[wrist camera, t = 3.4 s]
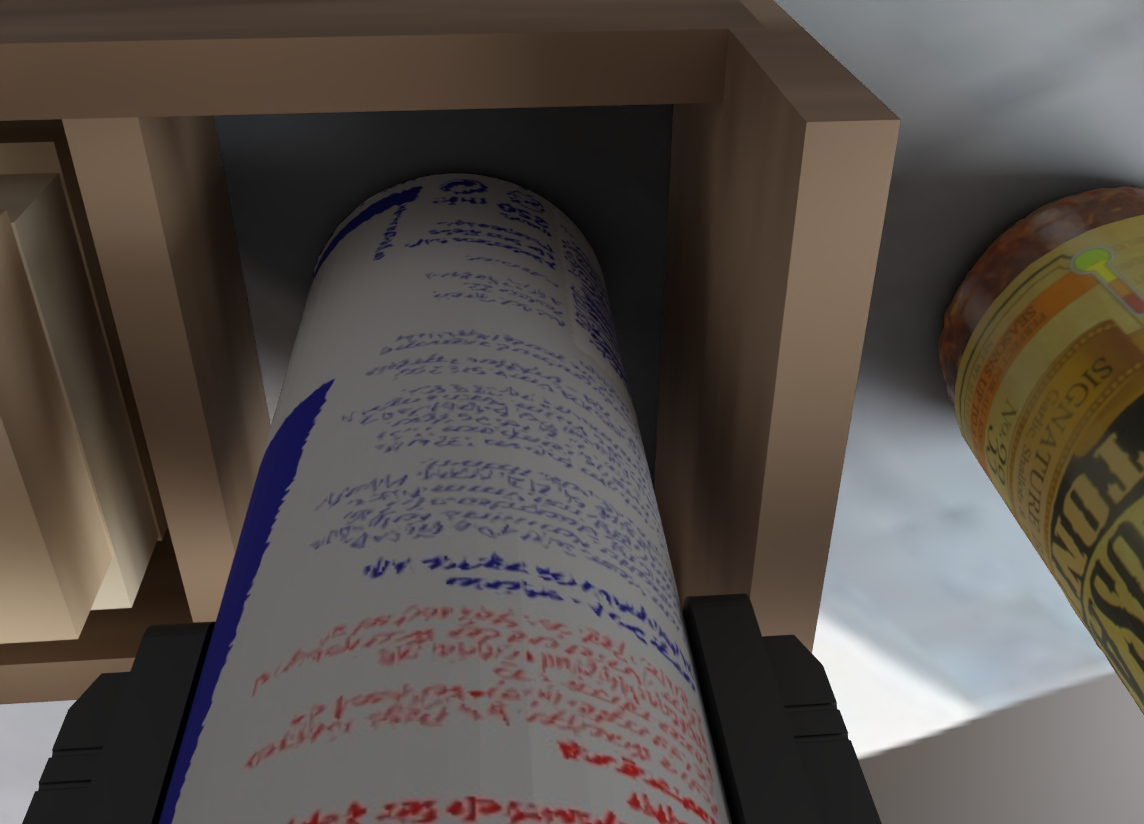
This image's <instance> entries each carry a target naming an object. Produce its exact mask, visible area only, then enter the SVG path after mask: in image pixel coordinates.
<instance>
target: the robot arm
mask: <svg viewBox="0 0 1144 824" xmlns="http://www.w3.org/2000/svg"><path fill="white" fill-rule="evenodd" d="M683 617H684V621H685V625H686V629H687V633H688V638H689V642H690V646H691V650H692V655H693V659H694V663H695V667H696V672H697V676H698V680H699V684H700V689H701V693H702V697H703V701H704V706H705V710H706V714H707V718H708V723H709V727H710V731H711V735H712V739H713V744H714V748H715V752H716V756H717V761H718V765H719V769H720V773H721V778H722V782H723V786H724V790H725V795H726V799H727V803H728V807H729V812H730V816H731V820H732V824H882V823H881V821H880V818H879V815H878V813H877V810H876V808H875V805H874V802H873V799H872V796H871V794H870V791H869V788H868V786H867V783H866V780H865V778H864V775H863V772H862V769H861V767H860V764H859V761H858V759H857V756H856V753H855V751H854V748H853V745H852V742H851V740H849V739H848V732H847V729H846V726H845V724H844V721H843V718H842V716H841V713H840V710H837V702H836V699H835V697H834V694H833V691H832V689H831V686H830V683H829V680H828V678H827V675H826V672H825V670H824V667H823V665H822V664H821V663H820V662H819V661H818V660H817V659H816V658H815V657H814V655H813V654H812V653H811V652H810V651H809V650H808V649H807V648H806V647H805V646H804V645H803V644H802V643H801V642H800V640H799V639H798V638H797V637H796V636H795V635H777V636H762V635H761V631H760V628H759V625H758V622H757V619H756V616H755V612H754V609H753V606H752V603H751V600H750V598H749V596H748V595H747V594H745V593H742V594H724V595H706V596H688V597H686V598H685V600H684V605H683ZM215 623H216V622H215V621H212V622H194V623H176V624H158V625H151V626H149V627H148V628H147V629H146V631H145V633H144V635H143V637H142V640H141V643H140V646H139V648H138V651H137V654H136V657H135V660H134V662H133V665H132V668H131V671H130V672H116V673H101V674H100V675H99V677H98V678H97V679H96V680H95V681H94V682H93V683H92V684H91V685H90V686H89V688H88V689H87V690H86V691H85V692H84V693H83V694H82V695H81V696H80V697H79V699H78V700H77V701H76V702H75V703H74V704H73V705H72V706H71V707H70V708H69V710H68V712H67V714H66V717H65V719H64V722H63V724H62V727H61V729H60V732H59V734H58V737H57V739H56V742H55V744H54V747H53V749H52V751H53V755H52V758H49V759H48V761H47V764H46V766H45V769H44V771H43V774H42V776H41V779H40V781H39V790H38V791H35V793H34V796H33V798H32V801H31V803H30V806H29V808H28V811H27V813H26V816H25V818H24V821H23V823H22V824H159V821H160V817H161V814H162V810H163V807H164V803H165V800H166V796H167V792H168V789H169V785H170V782H171V778H172V775H173V771H174V768H175V764H176V761H177V757H178V754H179V750H180V747H181V743H182V739H183V736H184V732H185V729H186V725H187V722H188V718H189V715H190V711H191V708H192V704H193V701H194V697H195V693H196V690H197V686H198V683H199V679H200V676H201V672H202V669H203V665H204V662H205V658H206V655H207V651H208V647H209V644H210V640H211V637H212V633H213V630H214V626H215Z"/></svg>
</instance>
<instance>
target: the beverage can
mask: <svg viewBox="0 0 1144 824" xmlns="http://www.w3.org/2000/svg"><path fill="white" fill-rule="evenodd" d="M159 824H732V820H731V816H730V812H729V807H728V803H727V799H726V795H725V790H724V786H723V782H722V778H721V773H720V769H719V765H718V761H717V756H716V752H715V748H714V744H713V739H712V735H711V731H710V727H709V723H708V718H707V714H706V710H705V706H704V701H703V697H702V693H701V689H700V684H699V680H698V676H697V672H696V667H695V663H694V659H693V655H692V650H691V646H690V642H689V638H688V633H687V629H686V625H685V621H684V617H683V612H682V608H681V604H680V600H679V595H678V591H677V587H676V583H675V578H674V574H673V570H672V566H671V561H670V557H669V553H668V549H667V544H666V540H665V536H664V532H663V527H662V523H661V519H660V515H659V511H658V506H657V502H656V498H655V494H654V489H653V485H652V481H651V477H650V472H649V468H648V464H647V460H646V455H645V451H644V447H643V443H642V438H641V434H640V430H639V426H638V421H637V417H636V413H635V409H634V405H633V400H632V396H631V392H630V388H629V383H628V379H627V375H626V371H625V366H624V362H623V358H622V354H621V349H620V345H619V341H618V337H617V332H616V328H615V324H614V320H613V315H612V311H611V307H610V303H609V298H608V294H607V290H606V286H605V282H604V277H603V273H602V270H601V267H600V265H599V262H598V260H597V258H596V256H595V253H594V251H593V249H592V247H591V246H590V244H589V243H588V241H587V240H586V238H585V237H584V235H583V234H582V233H581V231H580V230H579V229H578V228H577V226H576V225H575V224H574V223H573V222H572V221H571V220H570V219H569V218H568V217H567V216H566V215H565V214H564V213H563V212H561V211H560V210H559V209H558V208H557V207H555V206H554V205H553V204H551V203H550V202H548V201H547V200H546V199H544V198H543V197H541V196H539V195H537V194H535V193H534V192H532V191H530V190H528V189H525V188H523V187H521V186H518V185H516V184H514V183H510V182H507V181H504V180H500V179H497V178H493V177H487V176H482V175H475V174H460V173H456V174H455V173H453V174H437V175H431V176H426V177H421V178H415V179H411V180H408V181H405V182H403V183H400V184H397V185H395V186H392V187H389V188H387V189H385V190H383V191H381V192H379V193H377V194H376V195H374V196H372V197H371V198H369V199H368V200H366V201H365V202H363V203H362V204H360V205H359V206H358V207H357V208H356V209H355V210H353V211H352V212H351V213H350V214H349V215H348V216H347V217H346V218H344V220H343V221H342V222H341V223H340V224H339V226H338V227H337V228H336V229H335V230H334V232H333V233H332V234H331V236H330V238H329V239H328V241H327V243H326V244H325V246H324V248H323V249H322V251H321V253H320V255H319V258H318V261H317V264H316V267H315V269H314V272H313V276H312V282H311V287H310V290H309V294H308V297H307V301H306V304H305V308H304V311H303V315H302V319H301V322H300V326H299V329H298V333H297V336H296V340H295V343H294V347H293V350H292V354H291V357H290V361H289V365H288V368H287V372H286V375H285V379H284V382H283V386H282V389H281V393H280V396H279V400H278V403H277V407H276V411H275V414H274V418H273V421H272V425H271V428H270V432H269V435H268V439H267V442H266V446H265V449H264V453H263V456H262V460H261V464H260V467H259V471H258V474H257V478H256V481H255V485H254V488H253V492H252V495H251V499H250V502H249V506H248V510H247V513H246V517H245V520H244V524H243V527H242V531H241V534H240V538H239V541H238V545H237V548H236V552H235V556H234V559H233V563H232V566H231V570H230V573H229V577H228V580H227V584H226V587H225V591H224V594H223V598H222V601H221V605H220V609H219V612H218V616H217V619H216V623H215V626H214V630H213V633H212V637H211V640H210V644H209V647H208V651H207V655H206V658H205V662H204V665H203V669H202V672H201V676H200V679H199V683H198V686H197V690H196V693H195V697H194V701H193V704H192V708H191V711H190V715H189V718H188V722H187V725H186V729H185V732H184V736H183V739H182V743H181V747H180V750H179V754H178V757H177V761H176V764H175V768H174V771H173V775H172V778H171V782H170V785H169V789H168V792H167V796H166V800H165V803H164V807H163V810H162V814H161V817H160V821H159Z"/></svg>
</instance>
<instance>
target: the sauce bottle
mask: <svg viewBox="0 0 1144 824" xmlns="http://www.w3.org/2000/svg"><path fill="white" fill-rule="evenodd" d="M937 345H938V350H939V353H940V366H941V368H942V372H943V375H944V379H945V382H946V385H947V394H948V395H949V397H950V399H951V400H952V402H953V404H954V406H955V412H956V417H957V421H958V424H959V428H960V431H961V434H962V436H963V438H964V439H965V441H966V443H967V444H968V446H969V447H970V449H971V451H972V452H973V454H974V456H975V457H976V459H977V460H978V462H979V463H980V465H981V466H982V468H983V470H984V471H985V473H986V474H987V476H988V477H989V479H990V480H991V482H992V483H993V485H994V487H995V488H996V490H997V491H998V493H999V494H1000V496H1001V497H1002V499H1003V500H1004V502H1005V504H1006V505H1007V507H1008V508H1009V510H1010V511H1011V513H1012V514H1013V516H1014V517H1015V519H1016V520H1017V522H1018V524H1019V525H1020V527H1021V528H1022V530H1023V531H1024V533H1025V534H1026V536H1027V537H1028V539H1029V540H1030V542H1031V543H1032V545H1033V546H1034V548H1035V549H1036V551H1037V552H1038V554H1039V555H1040V557H1041V558H1042V560H1043V561H1044V563H1045V565H1046V566H1047V568H1048V569H1049V571H1050V572H1051V574H1052V575H1053V577H1054V578H1055V580H1056V581H1057V583H1058V584H1059V586H1060V587H1061V589H1062V590H1063V592H1064V594H1065V596H1066V598H1067V599H1068V601H1069V603H1070V605H1071V607H1072V608H1073V610H1074V611H1075V613H1076V614H1077V615H1078V617H1079V618H1080V620H1081V621H1082V623H1083V624H1084V625H1085V627H1086V628H1087V630H1088V631H1089V632H1090V634H1091V636H1092V637H1093V639H1094V641H1095V642H1096V644H1097V646H1098V647H1099V648H1100V649H1101V650H1102V651H1103V653H1104V654H1105V656H1106V657H1107V659H1108V661H1109V662H1110V664H1111V666H1112V667H1113V669H1114V670H1115V672H1116V673H1117V675H1118V676H1119V678H1120V679H1121V681H1122V682H1123V684H1124V685H1125V687H1126V688H1127V690H1128V691H1129V692H1130V694H1131V696H1132V697H1133V699H1134V700H1135V702H1136V704H1137V705H1138V707H1139V708H1140V710H1141V711H1142V713H1143V714H1144V188H1140V187H1129V186H1121V187H1118V188H1098V189H1094V190H1090V191H1086V192H1082V193H1078V194H1074V195H1071V196H1067V197H1065V198H1062V199H1060V200H1057V201H1054V202H1051V203H1048V204H1046V205H1043V206H1042V207H1040V208H1038V209H1037V210H1035V211H1033V212H1032V213H1030V214H1029V215H1028V216H1027V217H1026V218H1024V219H1021V220H1018V221H1017V222H1016V223H1015V224H1014V226H1012V227H1011V228H1009V229H1008V230H1007V231H1005V232H1004V233H1003V234H1002V235H1001V236H1000V237H998V238H997V239H995V241H994V242H993V243H992V244H991V245H990V246H989V247H988V248H987V250H986V251H985V252H984V253H983V254H982V256H981V257H980V258H979V260H978V261H977V262H976V264H975V265H974V266H973V268H972V269H971V270H970V271H969V272H968V273H967V274H966V276H965V279H964V281H963V282H962V283H961V284H960V286H959V288H958V289H957V291H956V293H955V295H954V298H953V300H952V303H951V304H950V305H949V307H948V308H947V309H946V311H945V314H944V328H943V330H942V331H941V334H940V337H939V341H938V344H937Z"/></svg>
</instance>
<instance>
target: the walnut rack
mask: <svg viewBox="0 0 1144 824" xmlns="http://www.w3.org/2000/svg"><path fill="white" fill-rule="evenodd" d="M648 104H674V107H673V127H672V146H671V166H670V186H669V206H668V226H667V245H666V265H665V285H664V305H663V324H662V344H661V364H660V384H659V404H658V423H657V443H656V463H655V483H654V494H655V498H656V502H657V506H658V511H659V515H660V519H661V523H662V527H663V532H664V536H665V540H666V544H667V549H668V553H669V557H670V561H671V566H672V570H673V574H674V578H675V583H676V587H677V591H678V595H679V600H680V604H681V608H682V612H683V605H684V600H685V598H686V597H688V596H706V595H724V594H742V593H745V594H747V595H748V596H749V598H750V600H751V603H752V606H753V609H754V612H755V616H756V619H757V622H758V625H759V628H760V631H761V635H762V636H777V635H795V636H796V637H797V638H798V639H799V640H800V642H801V643H802V644H803V645H804V646H805V647H806V648H807V649H808V650H809V651H810V652H811V653H812V649H813V643H814V637H815V631H816V625H817V619H818V613H819V607H820V601H821V595H822V589H823V583H824V577H825V571H826V565H827V559H828V553H829V547H830V541H831V535H832V529H833V523H834V517H835V511H836V505H837V499H838V493H839V487H840V481H841V475H842V469H843V463H844V457H845V451H846V445H847V439H848V433H849V427H850V421H851V415H852V409H853V403H854V397H855V391H856V385H857V379H858V373H859V367H860V361H861V355H862V349H863V343H864V337H865V331H866V325H867V319H868V313H869V307H870V301H871V295H872V289H873V283H874V277H875V271H876V265H877V259H878V253H879V247H880V241H881V235H882V229H883V224H884V218H885V212H886V206H887V200H888V194H889V188H890V182H891V176H892V170H893V164H894V158H895V152H896V146H897V140H898V134H899V128H900V122H901V119H900V118H898V117H897V116H896V115H895V114H894V113H893V112H892V111H891V110H890V109H889V108H888V107H887V106H886V105H885V104H883V103H882V102H881V101H880V100H879V99H878V98H877V97H876V96H875V95H874V94H873V93H872V92H871V91H870V90H869V89H867V88H866V87H865V86H864V85H863V84H862V83H861V82H860V81H859V80H858V79H857V78H856V77H855V76H854V75H852V74H851V73H850V72H849V71H848V70H847V69H846V68H845V67H844V66H843V65H842V64H841V63H840V62H839V61H837V60H836V59H835V58H834V57H833V56H832V55H831V54H830V53H829V52H828V51H827V50H826V49H825V48H824V47H822V46H821V45H820V44H819V43H818V42H817V41H816V40H815V39H814V38H813V37H812V36H811V35H810V34H809V33H807V32H806V31H805V30H804V29H803V28H802V27H801V26H800V25H799V24H798V23H797V22H796V21H795V20H794V19H792V18H791V17H790V16H789V15H788V14H787V13H786V12H785V11H784V10H783V9H782V8H781V7H780V6H779V5H777V4H776V3H775V2H774V1H773V0H0V121H10V120H50V119H62V122H63V126H64V129H65V133H66V137H67V141H68V145H69V149H70V152H71V156H72V160H73V164H74V168H75V172H76V175H77V179H78V183H79V187H80V191H81V195H82V198H83V202H84V206H85V210H86V214H87V218H88V221H89V225H90V229H91V233H92V237H93V240H94V244H95V248H96V252H97V256H98V260H99V263H100V267H101V271H102V275H103V279H104V283H105V286H106V290H107V294H108V298H109V302H110V306H111V309H112V313H113V317H114V321H115V325H116V329H117V332H118V336H119V340H120V344H121V348H122V352H123V355H124V359H125V363H126V367H127V371H128V374H129V378H130V382H131V386H132V390H133V394H134V397H135V401H136V405H137V409H138V413H139V417H140V420H141V424H142V428H143V432H144V436H145V440H146V443H147V447H148V451H149V455H150V459H151V463H152V466H153V470H154V474H155V478H156V482H157V486H158V489H159V493H160V497H161V501H162V505H163V508H164V512H165V516H166V520H167V524H168V526H167V529H166V532H165V534H164V537H163V540H162V541H157V542H156V545H155V547H154V550H153V553H152V555H151V558H150V561H149V563H148V566H147V568H146V571H145V574H144V576H143V579H142V582H141V584H140V587H139V590H138V592H137V595H136V598H135V600H134V603H133V605H132V608H118V609H101V610H90V612H89V615H88V617H87V619H86V622H85V624H84V626H83V629H82V631H81V633H80V636H79V638H78V639H71V640H54V641H37V642H21V643H4V644H0V704H14V703H31V702H48V701H65V700H78V699H79V697H80V696H81V695H82V694H83V693H84V692H85V691H86V690H87V689H88V688H89V686H90V685H91V684H92V683H93V682H94V681H95V680H96V679H97V678H98V677H99V675H100V674H101V673H116V672H130V671H131V668H132V665H133V662H134V660H135V657H136V654H137V651H138V648H139V646H140V643H141V640H142V637H143V635H144V633H145V631H146V629H147V628H148V627H149V626H151V625H158V624H176V623H194V622H212V621H215V622H216V619H217V616H218V612H219V609H220V605H221V601H222V598H223V594H224V591H225V587H226V584H227V580H228V577H229V573H230V570H231V566H232V563H233V559H234V556H235V552H236V548H237V545H238V541H239V538H240V534H241V531H242V527H243V524H244V520H245V517H246V513H247V510H248V506H249V502H250V499H251V495H252V492H253V488H254V485H255V481H256V478H257V474H258V471H259V467H260V464H261V460H262V456H263V453H264V449H265V446H266V442H267V439H268V435H269V432H270V428H271V425H270V420H269V415H268V409H267V404H266V398H265V393H264V387H263V382H262V376H261V371H260V365H259V360H258V355H257V349H256V344H255V338H254V333H253V327H252V322H251V316H250V311H249V306H248V300H247V295H246V289H245V284H244V278H243V273H242V267H241V262H240V256H239V251H238V246H237V240H236V235H235V229H234V224H233V218H232V213H231V207H230V202H229V196H228V191H227V186H226V180H225V175H224V169H223V164H222V158H221V153H220V147H219V142H218V136H217V131H216V126H215V120H214V115H249V114H289V113H329V112H369V111H409V110H449V109H489V108H528V107H568V106H608V105H648Z"/></svg>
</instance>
